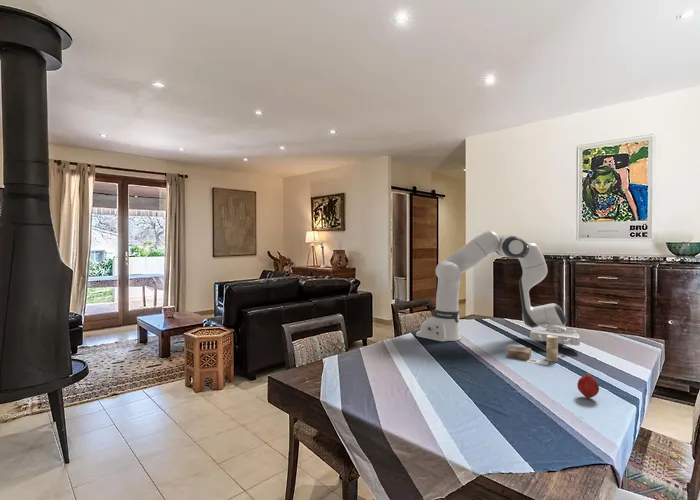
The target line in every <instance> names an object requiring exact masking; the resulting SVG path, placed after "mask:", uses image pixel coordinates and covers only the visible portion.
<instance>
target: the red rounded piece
mask: <svg viewBox="0 0 700 500" xmlns="http://www.w3.org/2000/svg"><path fill="white" fill-rule="evenodd" d="M591 375H592V374H590V373H586V374H585V375H584V376H581V377H580V378H579V379H578V381H577V385H576V386H577V390H578V391H579V392H580V393H581V394H582V395H583V397H584V398H586V399H591V398H594V397H596V396H597V395H598V394H599V392H600V386H599V383H598V382H597V380H596V378H594V377H593V376H591Z"/></svg>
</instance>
